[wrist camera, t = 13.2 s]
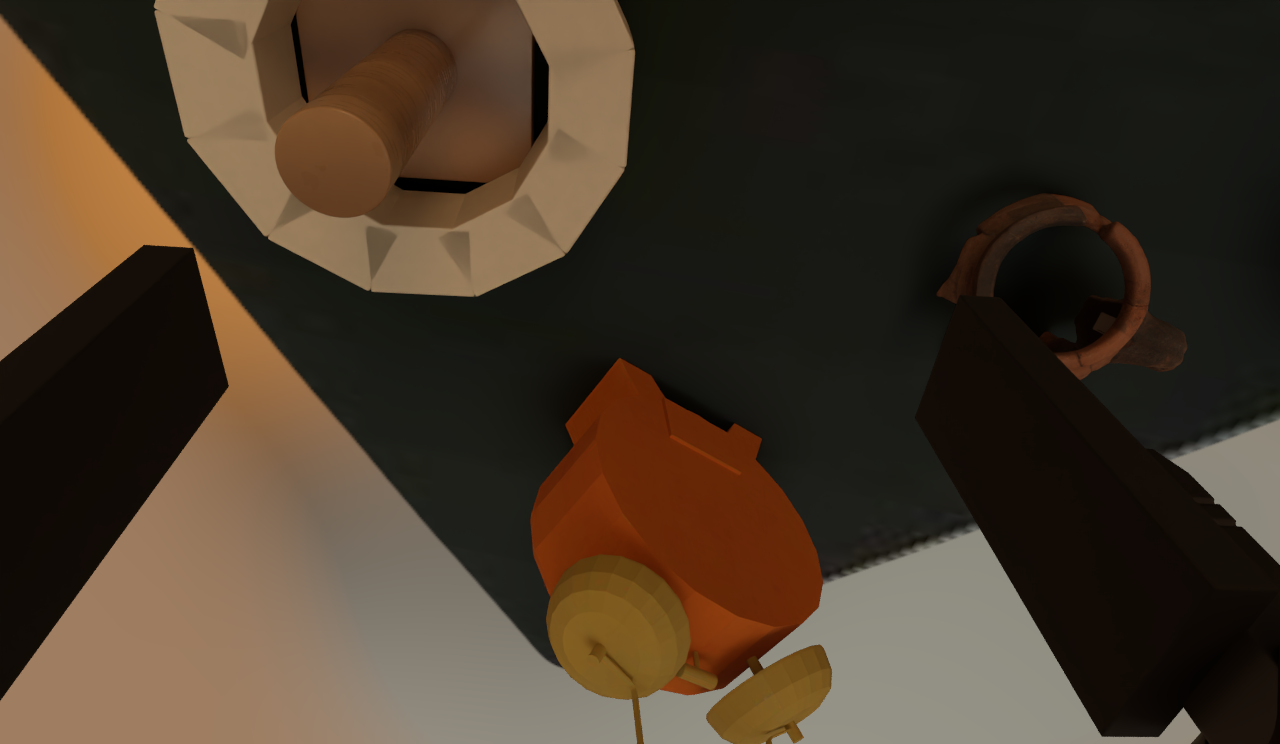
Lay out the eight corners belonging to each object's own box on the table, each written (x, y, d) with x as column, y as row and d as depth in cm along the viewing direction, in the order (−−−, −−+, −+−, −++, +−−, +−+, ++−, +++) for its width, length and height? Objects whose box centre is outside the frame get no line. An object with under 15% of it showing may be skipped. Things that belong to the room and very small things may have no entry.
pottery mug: (888, 358, 41) (933, 368, 33) (937, 190, 40) (995, 156, 32) (1107, 415, 40) (1209, 439, 32) (1162, 244, 40) (1281, 224, 31)
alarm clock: (534, 419, 42) (498, 781, 25) (596, 340, 39) (602, 685, 22) (719, 512, 46) (792, 869, 30) (784, 447, 44) (905, 798, 27)
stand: (296, -75, 28) (101, -45, 17) (536, -52, 29) (503, -8, 18) (328, 160, 33) (194, 305, 22) (533, 175, 34) (506, 321, 23)
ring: (308, -301, 24) (262, -331, 20) (705, 14, 29) (721, 31, 26) (157, 125, 30) (104, 155, 27) (504, 313, 36) (495, 357, 33)
